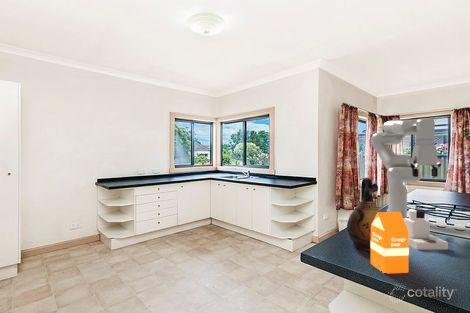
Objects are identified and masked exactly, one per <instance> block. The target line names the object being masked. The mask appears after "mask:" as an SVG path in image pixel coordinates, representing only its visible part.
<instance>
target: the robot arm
mask: <svg viewBox="0 0 470 313" xmlns="http://www.w3.org/2000/svg"><path fill="white" fill-rule="evenodd" d="M435 122H436V121H435V120H434V119H433V118H420V119H414V120H404V119H399V120H398V119H396V120H393V119H392V120H388V121H386V122H384V123H383V125H382V130H383V132H382V131H381V132H376V133H374V134H372V136H371V139H370V141H371V146H372V148H373V150H374V151H375V152H376V154H377V155H378V156H379V158H380V160H381V162H382V164H383V166H384V168H386V169H387V171H386V179H387V185H388V190H387V192H388V204H387V205H388V208H387V209H386V212H401V214H402V217H403V219H404V218H407V216H408V190H407V187H406V186H405V184H404V183H417V182H419V181H420V180H421V177H422V174H421V171H420V169H419V167H420V166H431V167H432V168H431V169H430V170H431V174H430V175H431V177H434V178H438V175H439V172H438V171H439V169H440V167H442V164H443V162H444V160H443V159H442V158H440V157H438V152H437V151H438V150H437V147H436V145H435V144H437V140H435V130H436V129H435V127H436V126H435ZM407 135H415V145H414V146H413V150H412V155H411V156H412V157H411V156H410V155H408V154H397V153H395V151H394V150H393V149H392V148H391V147H390V146H392V145H399V144H400V143H402V141H403V140H404V139H405V137H406V136H407ZM388 145H390V146H388Z"/></svg>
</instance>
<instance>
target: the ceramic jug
mask: <svg viewBox="0 0 470 313" xmlns="http://www.w3.org/2000/svg"><path fill="white" fill-rule="evenodd" d="M360 189H361V190H360V191H361V194H360V196H361V197H360V201H359V203H358V204H357V205H356V206H355V207H354V209H353V210H352V211H351V213H350V215H349V218H348V220H347V224H346V231H347V234H348V237H349V238H350V239H351V241H352V242H353V246H354V248H355V249H356V250H361V251H364V252H371V224H372V222H373V220H374V219H375V217H376V215H377V212H381V210H380V208H379V206H377V204H376V202H375V200H374V198H373V193H376V192H378V191H379V186H378V184H377V183H373V180H372V179H371V178H370V177H365V178H362V180H361V187H360Z"/></svg>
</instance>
